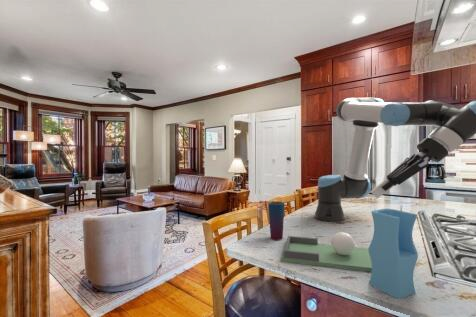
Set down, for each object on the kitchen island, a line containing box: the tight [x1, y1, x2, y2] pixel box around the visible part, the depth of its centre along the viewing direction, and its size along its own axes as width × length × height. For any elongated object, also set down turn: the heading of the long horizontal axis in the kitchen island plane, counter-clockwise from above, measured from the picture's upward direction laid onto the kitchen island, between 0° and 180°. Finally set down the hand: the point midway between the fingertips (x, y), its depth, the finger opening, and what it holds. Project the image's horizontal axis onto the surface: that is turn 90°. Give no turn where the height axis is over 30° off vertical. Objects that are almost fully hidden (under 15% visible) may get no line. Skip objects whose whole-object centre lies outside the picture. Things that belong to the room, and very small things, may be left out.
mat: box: [280, 240, 372, 273], centre depth 82 cm, size 34×16×1 cm, turn 73°
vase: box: [368, 208, 419, 300], centre depth 62 cm, size 8×8×20 cm
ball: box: [330, 231, 356, 255], centre depth 81 cm, size 8×8×8 cm
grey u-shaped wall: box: [284, 235, 319, 261], centre depth 85 cm, size 11×15×2 cm
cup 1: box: [267, 201, 285, 241], centre depth 100 cm, size 7×7×15 cm
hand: (373, 195), depth 78 cm, fingers closed
